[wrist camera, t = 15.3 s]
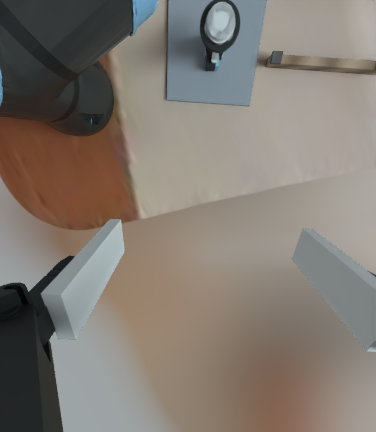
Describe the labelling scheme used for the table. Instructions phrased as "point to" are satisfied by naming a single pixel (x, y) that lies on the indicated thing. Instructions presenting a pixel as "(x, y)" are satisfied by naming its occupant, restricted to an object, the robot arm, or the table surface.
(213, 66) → the push button
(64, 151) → the table surface
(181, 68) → the slate mat
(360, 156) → the table surface
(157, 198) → the table surface
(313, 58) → the rails
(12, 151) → the table surface
